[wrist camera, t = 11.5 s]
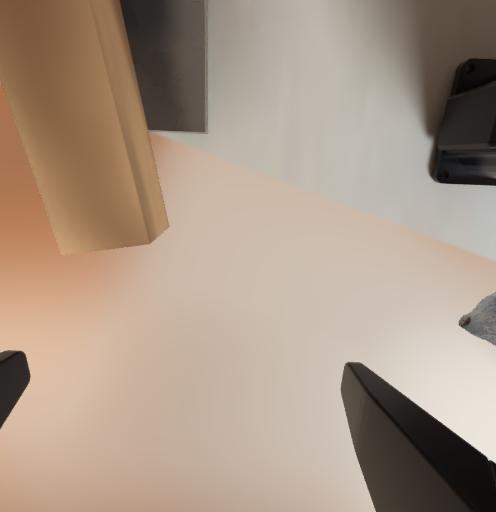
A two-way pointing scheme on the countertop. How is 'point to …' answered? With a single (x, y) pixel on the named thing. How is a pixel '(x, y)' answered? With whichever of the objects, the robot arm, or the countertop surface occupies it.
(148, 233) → the oak rod
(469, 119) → the robot arm
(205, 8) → the ridge stand
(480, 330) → the driftwood
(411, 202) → the countertop surface
